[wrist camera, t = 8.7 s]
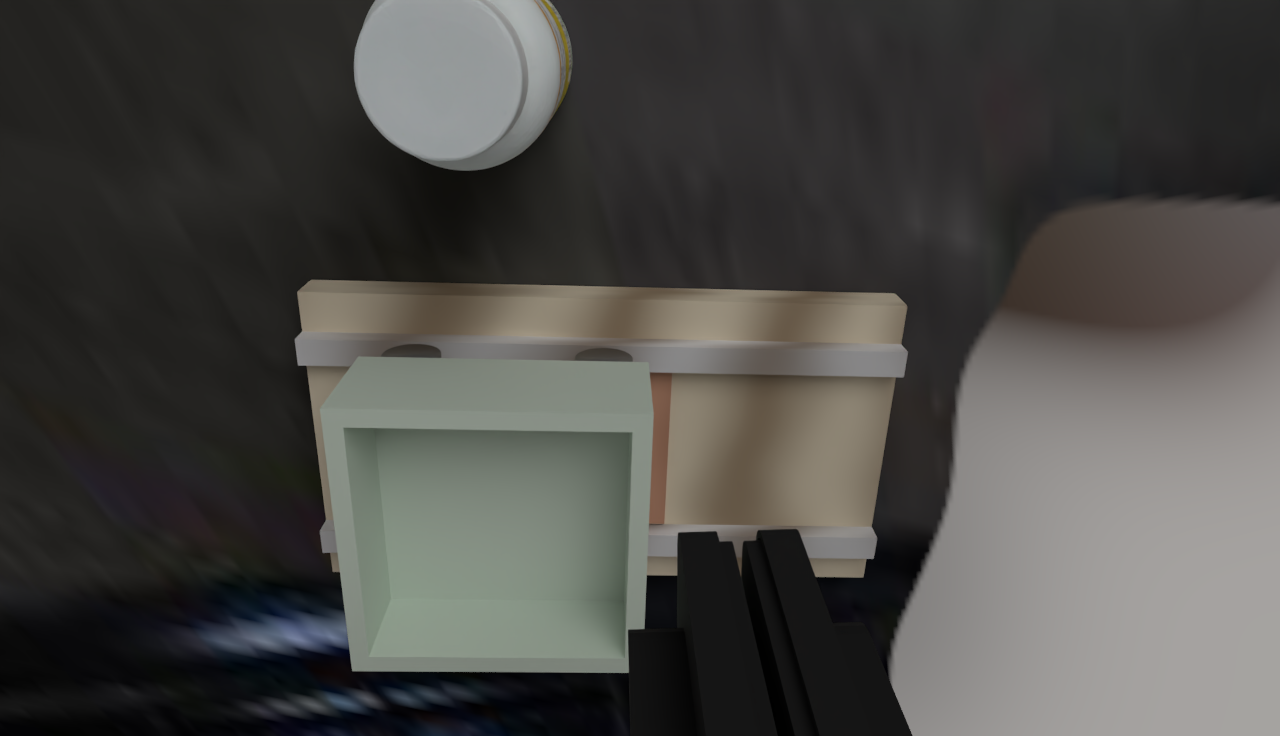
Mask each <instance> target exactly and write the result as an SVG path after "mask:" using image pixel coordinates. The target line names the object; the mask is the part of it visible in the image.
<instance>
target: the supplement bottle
mask: <svg viewBox="0 0 1280 736" xmlns="http://www.w3.org/2000/svg"><path fill="white" fill-rule="evenodd" d="M571 72H572V51H571V44H570V39H569V36H568V33H567V30H566V27H565V25H564V23H563V21H562V19H561V17H560V15H559V13H558V12H557V10H556V9H555V7H554V6H553V5H552V3H551V2H550V1H549V0H375V1H374V3H373V5H372V6H371V8H370V10H369V12H368V14H367V16H366V19H365V21H364V24H363V27H362V30H361V32H360V35H359V38H358V41H357V45H356V48H355V57H354V78H355V85H356V89H357V93H358V96H359V99H360V102H361V104H362V106H363V108H364V110H365V112H366V114H367V116H368V118H369V119H370V120H371V122H372V123H373V125H374V126H375V127H376V128H377V130H378V131H379V132H380V133H381V134H382V135H383V136H384V137H385V138H386V139H387V140H388V141H390V142H391V143H392V144H394V145H395V146H397V147H398V148H400V149H401V150H403V151H405V152H407V153H409V154H411V155H413V156H415V157H417V158H418V159H420V160H422V161H425V162H427V163H429V164H432V165H435V166H438V167H442V168H446V169H451V170H461V171H470V170H481V169H487V168H491V167H494V166H497V165H500V164H503V163H505V162H507V161H509V160H511V159H513V158H514V157H516V156H517V155H519V154H521V153H522V152H523V151H524V150H526V149H527V148H528V147H529V146H530V145H531V144H532V143H533V142H534V141H535V140H536V139H537V138H538V137H539V136H540V134H541V133H542V132H543V130H544V129H545V127H546V126H547V124H548V123H549V121H550V120H551V118H552V117H553V115H554V114H555V113H556V111H557V109H558V108H559V106H560V104H561V103H562V101H563V99H564V97H565V94H566V92H567V89H568V86H569V82H570V78H571Z"/></svg>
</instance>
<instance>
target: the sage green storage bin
mask: <svg viewBox="0 0 1280 736" xmlns="http://www.w3.org/2000/svg"><path fill="white" fill-rule="evenodd" d="M320 414H321V422H322V430H323V438H324V446H325V455H326V463H327V471H328V479H329V487H330V495H331V503H332V511H333V520H334V528H335V536H336V544H337V552H338V560H339V568H340V576H341V585H342V593H343V601H344V609H345V617H346V625H347V633H348V641H349V649H350V658H351V666H352V671H414V672H580V673H629V657H628V630H630V629H644V625H645V602H646V580H647V557H648V534H649V511H650V488H651V465H652V442H653V419H654V412H653V402H652V392H651V382H650V371H649V362H633V358H632V356H631V355H630V354H629V353H627V352H625V351H622V350H618V349H612V348H593V349H588V350H584V351H581V352H579V353H578V354H577V355H576V356H575V361H562V360H512V359H463V358H441V351H440V350H439V349H438V348H436V347H434V346H430V345H425V344H407V345H400V346H396V347H392V348H390V349H388V350H386V351H384V352H383V353H382V355H381V357H363V356H358V357H357V359H356V360H355V362H354V363H353V364H352V366H351V367H350V368H349V370H348V371H347V372H346V374H345V375H344V376H343V378H342V379H341V380H340V382H339V383H338V385H337V386H336V387H335V389H334V390H333V391H332V393H331V394H330V395H329V397H328V398H327V399H326V401H325V402H324V404H323V405H322V406H321V408H320Z"/></svg>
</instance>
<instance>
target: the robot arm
mask: <svg viewBox="0 0 1280 736" xmlns="http://www.w3.org/2000/svg"><path fill="white" fill-rule="evenodd" d="M628 657H629V698H630V736H912V734H911V731H910V729H909V726H908V724H907V722H906V719H905V717H904V715H903V712H902V710H901V707H900V705H899V703H898V700H897V698H896V696H895V693H894V691H893V688H892V686H891V683H890V681H889V679H888V676H887V674H886V671H885V669H884V667H883V664H882V662H881V659H880V657H879V655H878V652H877V650H876V647H875V645H874V643H873V640H872V638H871V636H870V633H869V631H868V629H867V628H866V626H865V625H864V624H863V623H862V622H846V623H832V620H831V618H830V615H829V612H828V609H827V607H826V604H825V601H824V599H823V596H822V593H821V590H820V588H819V585H818V582H817V579H816V577H815V574H814V571H813V568H812V566H811V563H810V560H809V557H808V555H807V552H806V549H805V546H804V544H803V541H802V538H801V535H800V533H799V531H798V530H797V529H773V530H758V531H757V535H756V540H753V541H744V542H743V546H742V568H741V575H740V571H739V566H738V562H737V558H736V553H735V549H734V545H733V542H732V541H719V538H718V534H717V532H716V531H706V532H678V539H677V628H661V629H630V630H628Z"/></svg>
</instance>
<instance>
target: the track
mask: <svg viewBox="0 0 1280 736" xmlns="http://www.w3.org/2000/svg"><path fill="white" fill-rule="evenodd" d="M297 294H298V302H299V310H300V318H301V326H302V332H301V333H300V334H299V335H298V336H297V337H296V339H295V346H296V353H297V361H298V365H300V366H307V373H308V381H309V389H310V396H311V404H312V412H313V420H314V428H315V436H316V444H317V451H318V459H319V467H320V475H321V483H322V491H323V499H324V507H325V514H326V521H325V523H324V525H323V526H322V528H321V530H320V536H321V544H322V552H323V553H330V554H331V562H332V570H333V572H340V568H339V560H338V552H337V544H336V536H335V528H334V520H333V511H332V503H331V495H330V487H329V479H328V471H327V463H326V455H325V446H324V438H323V430H322V422H321V414H320V408H321V406H322V405H323V404H324V402H325V401H326V399H327V398H328V397H329V395H330V394H331V393H332V391H333V390H334V389H335V387H336V386H337V385H338V383H339V382H340V380H341V379H342V378H343V376H344V375H345V374H346V372H347V371H348V370H349V368H350V367H351V366H352V364H353V363H354V362H355V360H356V359H357V357H358V356H363V357H381V355H382V353H383V352H384V351H386V350H388V349H390V348H392V347H396V346H400V345H407V344H425V345H430V346H434V347H436V348H438V349H439V350H440V351H441V358H463V359H512V360H562V361H575V356H576V355H577V354H578V353H579V352H581V351H584V350H588V349H593V348H612V349H618V350H622V351H625V352H627V353H629V354H630V355H631V356H632V358H633V362H649V371H650V382H651V392H652V402H653V412H654V419H653V442H652V465H651V488H650V511H649V534H648V557H647V575H677V539H678V532H706V531H716V532H717V534H718V538H719V541H732V542H733V545H734V549H735V553H736V558H737V562H738V566H739V571H740V575H741V568H742V546H743V542H744V541H753V540H756V535H757V531H758V530H773V529H797V530H798V531H799V533H800V535H801V538H802V541H803V544H804V546H805V549H806V552H807V555H808V557H809V560H810V563H811V566H812V568H813V571H814V574H815V577H864V571H865V564H866V559H874V554H875V548H876V542H877V537H876V535H875V533H874V531H873V529H872V521H873V515H874V509H875V503H876V496H877V490H878V484H879V478H880V472H881V466H882V459H883V453H884V447H885V441H886V435H887V429H888V422H889V416H890V410H891V404H892V398H893V391H894V385H895V379H896V377H904V373H905V367H906V361H907V355H908V352H907V350H906V349H905V348H904V347H903V346H902V345H901V342H902V336H903V330H904V323H905V317H906V311H907V305H906V304H905V303H904V302H903V301H902V300H901V299H900V298H899V297H898V296H897V295H896V294H895V293H856V292H813V291H771V290H728V289H685V288H643V287H600V286H557V285H515V284H472V283H429V282H387V281H344V280H310V281H309V282H308V283H307V284H306V285H305V286H303V287H302V288H301V289H300V290H299V291H298V292H297Z"/></svg>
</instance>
